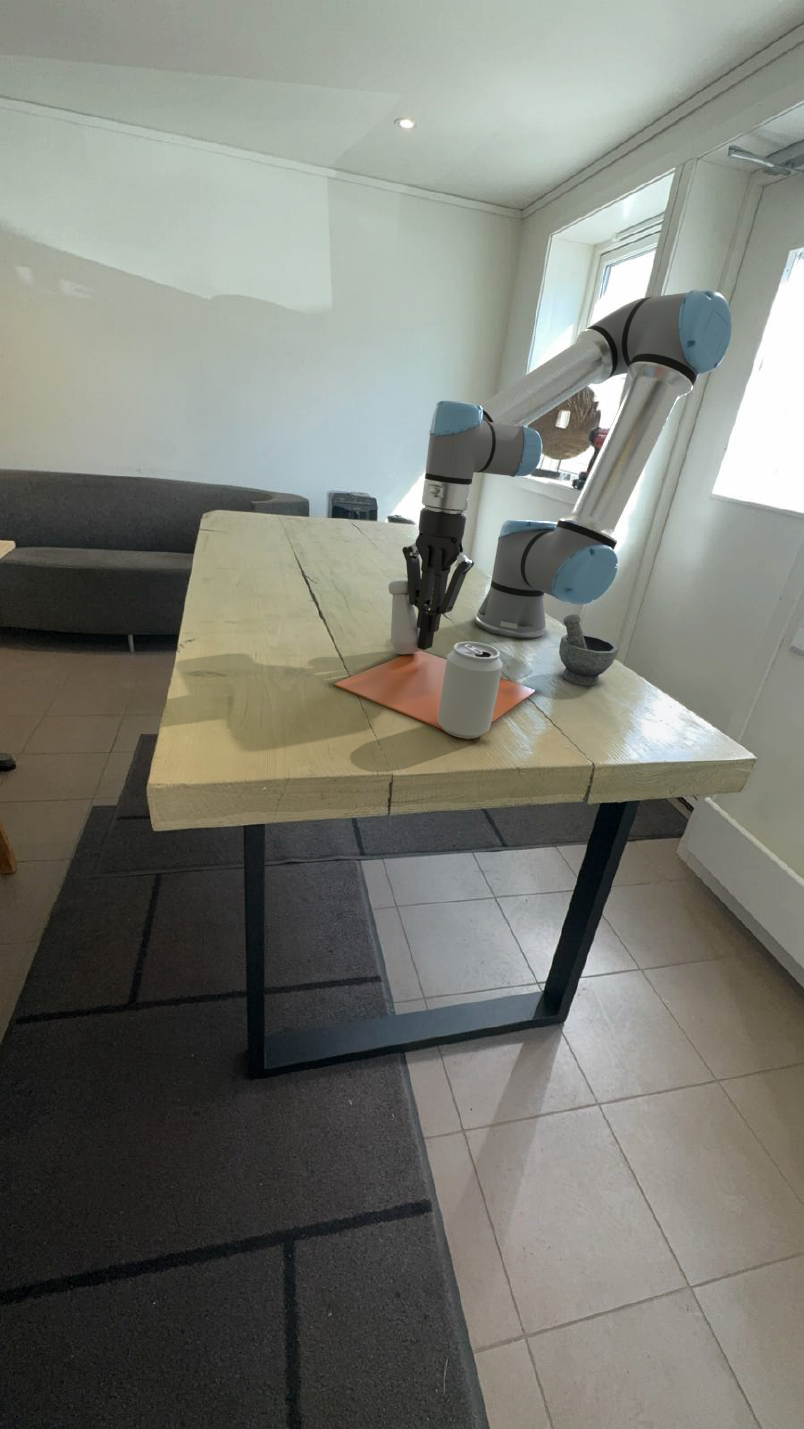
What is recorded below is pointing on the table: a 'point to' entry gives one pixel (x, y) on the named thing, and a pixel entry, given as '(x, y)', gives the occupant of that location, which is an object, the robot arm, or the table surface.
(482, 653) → the can
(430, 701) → the orange square board
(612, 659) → the mortar and pestle
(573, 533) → the robot arm
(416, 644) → the salt shaker
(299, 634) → the table surface
